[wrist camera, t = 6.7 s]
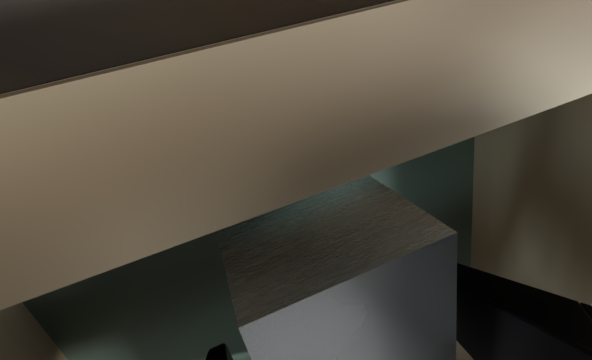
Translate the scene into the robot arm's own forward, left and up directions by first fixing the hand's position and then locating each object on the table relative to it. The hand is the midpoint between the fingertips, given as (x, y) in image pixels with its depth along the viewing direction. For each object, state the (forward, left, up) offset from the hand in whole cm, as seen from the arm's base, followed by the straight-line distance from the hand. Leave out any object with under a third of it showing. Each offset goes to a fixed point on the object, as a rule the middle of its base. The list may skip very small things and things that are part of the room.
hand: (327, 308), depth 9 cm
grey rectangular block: (0, 0, -2) cm, 2 cm away
